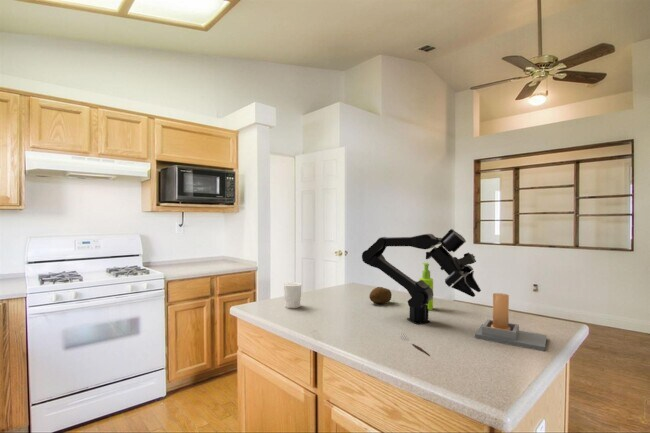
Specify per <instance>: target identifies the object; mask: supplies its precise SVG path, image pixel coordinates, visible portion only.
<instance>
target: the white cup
mask: <svg viewBox="0 0 650 433" xmlns="http://www.w3.org/2000/svg"><path fill="white" fill-rule="evenodd" d="M302 285H303V284H302V283H300V282H286V283H283V292H284V293H283V295H284V307H285V308H287V309H296V308H300V307H301V299H302V298H301V297H302Z"/></svg>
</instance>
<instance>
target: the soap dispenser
mask: <svg viewBox="0 0 650 433" xmlns="http://www.w3.org/2000/svg"><path fill="white" fill-rule="evenodd" d="M422 265H424V266H423V268H424V269H423V270H422V273H421V274H422V276H421V277H420V278H419V279H418V281H420V280H422V281H424V282H425V283H426V284H427V285H430V288H431V289H432V290H433V291H434V279H433V278H432V277H431V270H429V266H430V263H428V262H422ZM426 305H428V311H432V310H433V309H434V297H433V298H432V299H431V300H429V302H428V304H426Z"/></svg>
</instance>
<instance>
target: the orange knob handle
mask: <svg viewBox="0 0 650 433" xmlns="http://www.w3.org/2000/svg"><path fill="white" fill-rule="evenodd" d="M509 296H510V295H508V294H507V293H503V292H502V293H500V292H495V293H492V320H493V324H492V325H491V327H492V328H498V329H504V330H509V331H510V327H508V324H509V323H510V321H509V318H510V317H509V313H510V312H509V310H510V308H509V304H510V302H509V301H510V297H509Z"/></svg>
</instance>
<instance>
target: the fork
mask: <svg viewBox="0 0 650 433" xmlns="http://www.w3.org/2000/svg"><path fill="white" fill-rule="evenodd" d="M398 335H399V337H400V339H401V341H402V342H407V341H410V339H409V337H408V336H407V334H406V333H398ZM409 344H410V345H412V346H413V347H414V349H416V350H418V351H420V352H422V353H423V354H425V355H427V356H430V354H429V353H428V352H427V351H425V349H423V348H422V347H420V346H418V345H416V344H414V343H413V342H409Z"/></svg>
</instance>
